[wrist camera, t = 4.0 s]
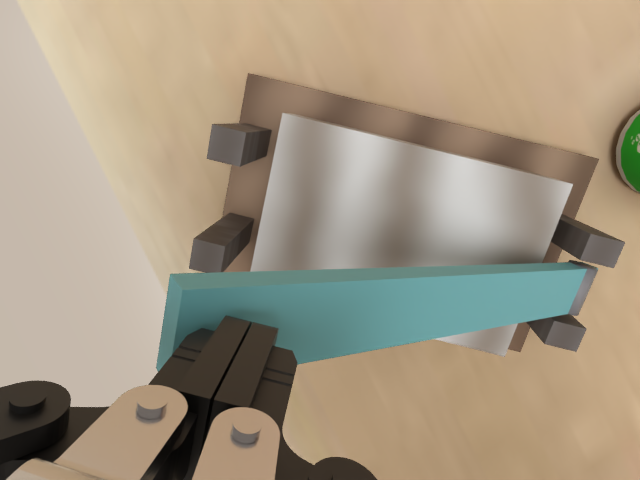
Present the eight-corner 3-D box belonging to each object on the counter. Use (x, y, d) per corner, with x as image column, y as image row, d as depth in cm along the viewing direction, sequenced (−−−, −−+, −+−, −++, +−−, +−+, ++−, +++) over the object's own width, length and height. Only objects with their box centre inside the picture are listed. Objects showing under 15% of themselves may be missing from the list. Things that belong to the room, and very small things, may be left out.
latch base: (585, 156, 34) (677, 171, 24) (511, 340, 38) (564, 414, 28) (254, 75, 34) (213, 58, 24) (219, 266, 38) (173, 316, 29)
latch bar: (577, 260, 28) (603, 270, 27) (559, 302, 29) (584, 314, 28) (167, 269, 12) (186, 295, 11) (153, 362, 13) (170, 395, 12)
